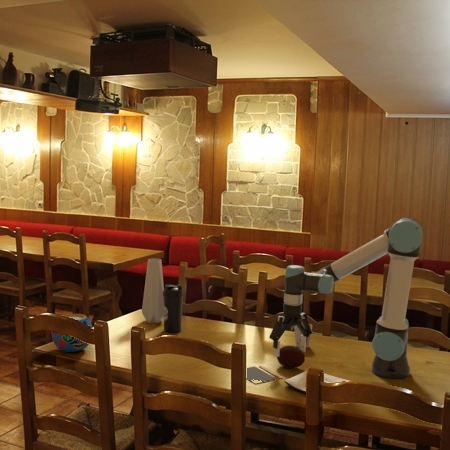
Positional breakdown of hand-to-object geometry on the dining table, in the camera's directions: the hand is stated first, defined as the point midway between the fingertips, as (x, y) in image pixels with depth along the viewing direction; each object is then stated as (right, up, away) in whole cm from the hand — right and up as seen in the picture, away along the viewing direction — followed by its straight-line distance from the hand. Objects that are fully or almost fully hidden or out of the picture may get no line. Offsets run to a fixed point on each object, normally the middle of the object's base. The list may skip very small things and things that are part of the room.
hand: (289, 353), depth 235 cm
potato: (0, -6, +1) cm, 6 cm away
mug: (+9, -4, +27) cm, 28 cm away
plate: (+8, -9, -19) cm, 22 cm away
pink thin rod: (-9, -6, -5) cm, 12 cm away
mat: (-15, -7, -9) cm, 19 cm away
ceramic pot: (-94, -2, +15) cm, 95 cm away
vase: (-64, +2, +63) cm, 90 cm away
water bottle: (-53, 0, +47) cm, 71 cm away
